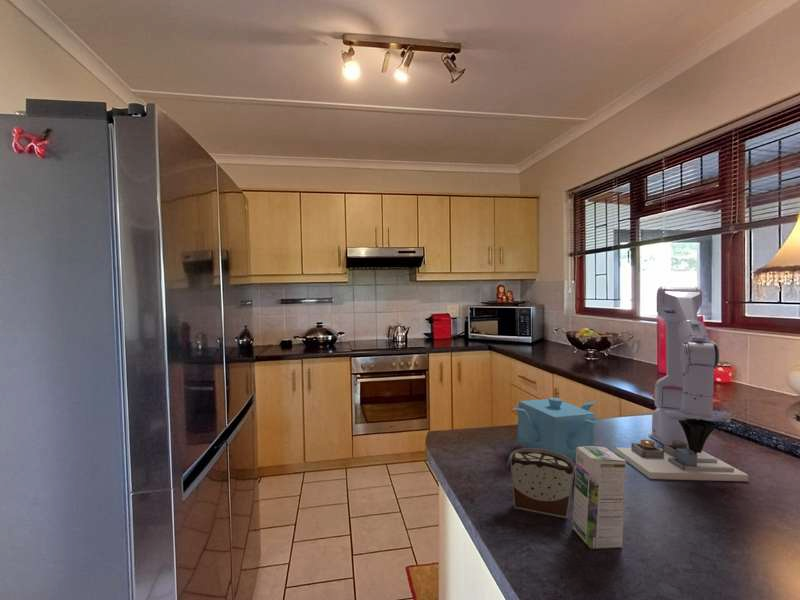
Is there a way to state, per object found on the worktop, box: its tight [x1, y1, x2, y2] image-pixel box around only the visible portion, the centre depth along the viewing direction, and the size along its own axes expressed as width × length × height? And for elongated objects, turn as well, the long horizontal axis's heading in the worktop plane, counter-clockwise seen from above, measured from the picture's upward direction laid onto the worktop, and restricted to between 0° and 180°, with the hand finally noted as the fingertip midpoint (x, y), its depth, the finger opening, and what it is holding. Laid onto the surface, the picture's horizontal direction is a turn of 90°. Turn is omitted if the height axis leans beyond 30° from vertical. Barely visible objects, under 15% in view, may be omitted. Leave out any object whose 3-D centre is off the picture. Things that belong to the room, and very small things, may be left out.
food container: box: [507, 447, 576, 519], centre depth 75 cm, size 12×6×10 cm, turn 71°
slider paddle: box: [675, 448, 697, 466], centre depth 91 cm, size 4×2×3 cm, turn 0°
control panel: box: [614, 442, 749, 482], centre depth 94 cm, size 14×22×3 cm, turn 90°
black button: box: [672, 440, 687, 450], centre depth 98 cm, size 3×3×2 cm
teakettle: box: [512, 397, 599, 464], centre depth 98 cm, size 19×19×15 cm
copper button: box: [640, 439, 656, 450], centre depth 98 cm, size 3×3×2 cm
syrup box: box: [572, 445, 627, 550], centre depth 65 cm, size 6×6×14 cm
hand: (695, 451), depth 91 cm, fingers closed
